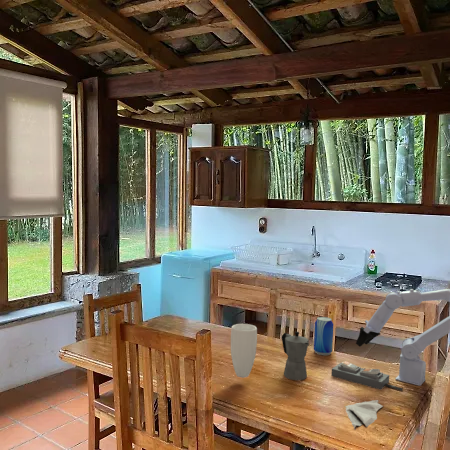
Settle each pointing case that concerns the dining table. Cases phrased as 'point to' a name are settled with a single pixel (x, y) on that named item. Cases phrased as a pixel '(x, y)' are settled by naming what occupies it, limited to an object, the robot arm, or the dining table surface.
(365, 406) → the cloth
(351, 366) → the rocker outer
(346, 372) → the power strip
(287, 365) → the coffeepot
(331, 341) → the beer can
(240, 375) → the cup
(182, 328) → the dining table surface
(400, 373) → the robot arm
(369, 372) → the rocker inner
